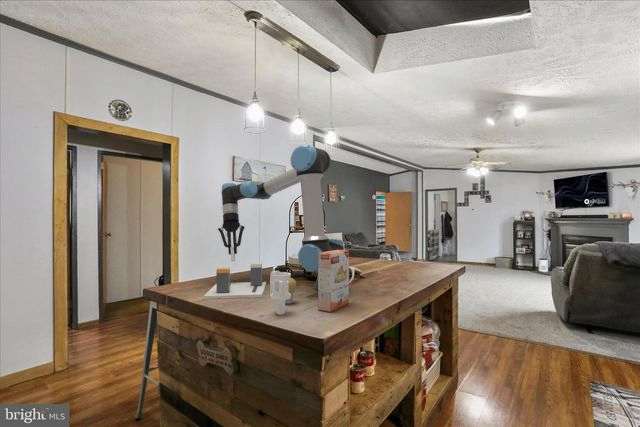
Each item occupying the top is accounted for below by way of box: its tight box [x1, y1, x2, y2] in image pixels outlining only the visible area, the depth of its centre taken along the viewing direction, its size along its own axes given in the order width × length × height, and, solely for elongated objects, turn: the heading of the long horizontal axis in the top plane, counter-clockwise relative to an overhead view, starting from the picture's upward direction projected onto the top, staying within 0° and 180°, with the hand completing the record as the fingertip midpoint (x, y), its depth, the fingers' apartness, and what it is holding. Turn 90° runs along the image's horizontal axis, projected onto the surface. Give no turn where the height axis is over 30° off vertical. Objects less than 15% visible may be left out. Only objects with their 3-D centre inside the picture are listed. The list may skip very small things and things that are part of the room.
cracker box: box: [317, 249, 350, 313], centre depth 124 cm, size 14×6×21 cm, turn 148°
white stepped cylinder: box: [269, 271, 292, 316], centre depth 116 cm, size 7×7×15 cm
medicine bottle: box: [269, 265, 288, 296], centre depth 146 cm, size 7×7×12 cm
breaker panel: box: [202, 281, 267, 300], centre depth 151 cm, size 26×24×1 cm
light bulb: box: [285, 277, 297, 305], centre depth 130 cm, size 6×6×10 cm
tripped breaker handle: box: [215, 267, 231, 293], centre depth 144 cm, size 4×5×10 cm
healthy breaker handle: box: [250, 262, 263, 286], centre depth 157 cm, size 4×5×10 cm
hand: (233, 260), depth 161 cm, fingers closed
